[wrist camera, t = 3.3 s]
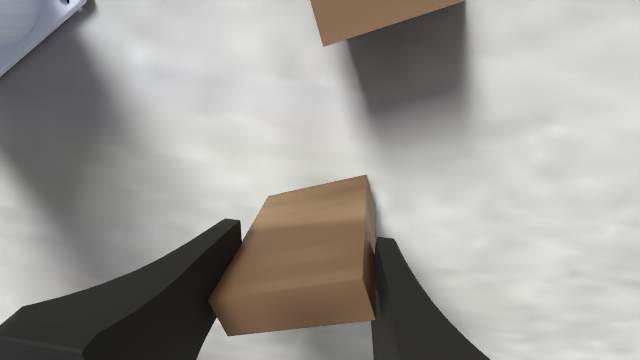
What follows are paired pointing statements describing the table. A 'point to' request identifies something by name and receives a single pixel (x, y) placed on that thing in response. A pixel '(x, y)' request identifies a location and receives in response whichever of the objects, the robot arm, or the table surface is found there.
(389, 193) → the table surface
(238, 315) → the domino
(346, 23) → the domino
